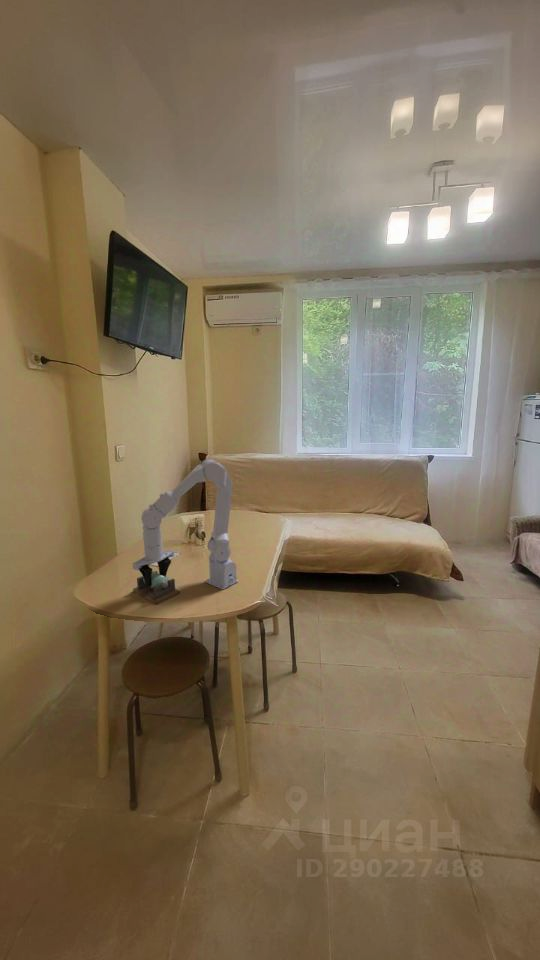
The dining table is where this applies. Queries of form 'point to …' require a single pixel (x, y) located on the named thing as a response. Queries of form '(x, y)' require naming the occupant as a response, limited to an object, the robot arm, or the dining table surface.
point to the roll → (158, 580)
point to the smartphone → (169, 558)
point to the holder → (156, 591)
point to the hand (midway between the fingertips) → (155, 582)
